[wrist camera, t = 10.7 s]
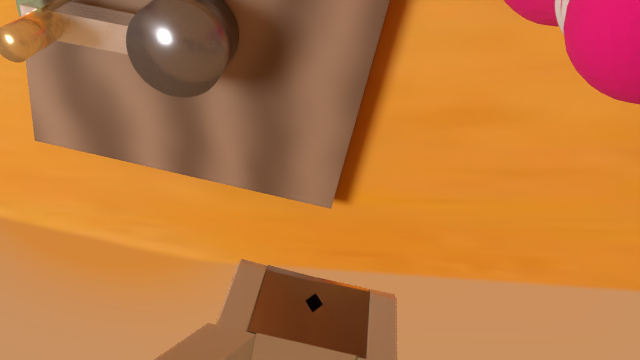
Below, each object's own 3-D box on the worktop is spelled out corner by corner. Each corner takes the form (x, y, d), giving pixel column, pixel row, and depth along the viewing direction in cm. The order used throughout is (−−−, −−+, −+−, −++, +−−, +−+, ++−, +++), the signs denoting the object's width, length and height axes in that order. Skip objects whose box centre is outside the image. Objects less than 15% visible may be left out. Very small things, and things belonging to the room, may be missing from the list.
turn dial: (242, -7, 33) (211, 30, 27) (235, 81, 37) (206, 130, 31) (47, -45, 33) (-27, -17, 27) (59, 46, 36) (-6, 89, 30)
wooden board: (424, -132, 30) (427, -129, 28) (332, 197, 43) (330, 213, 42) (7, -238, 29) (-17, -242, 27) (45, 131, 43) (30, 144, 41)
